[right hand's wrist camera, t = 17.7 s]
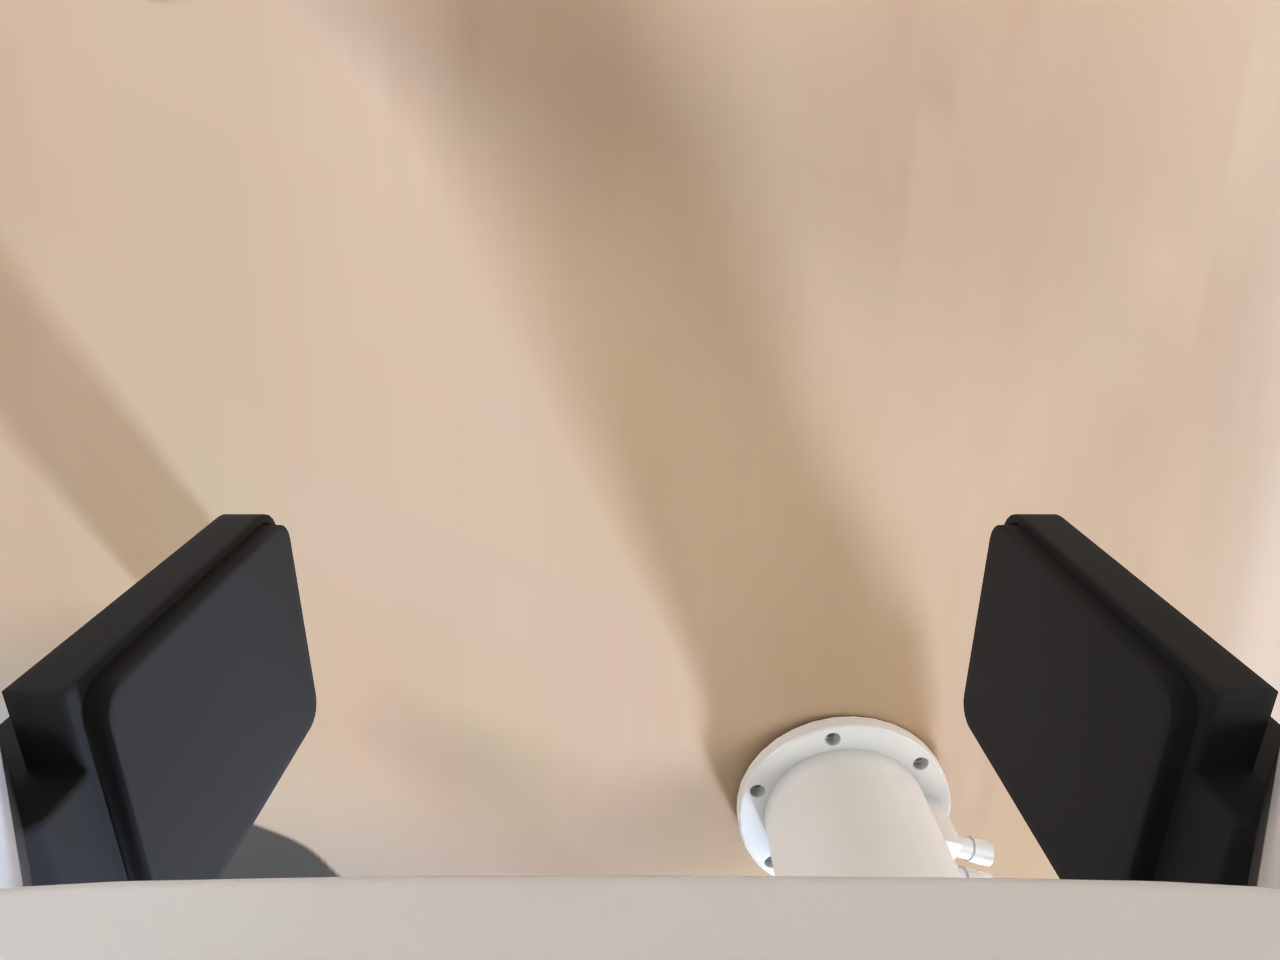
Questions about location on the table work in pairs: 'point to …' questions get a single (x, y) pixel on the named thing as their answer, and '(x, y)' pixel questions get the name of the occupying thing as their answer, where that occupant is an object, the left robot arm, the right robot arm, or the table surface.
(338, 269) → the table surface
